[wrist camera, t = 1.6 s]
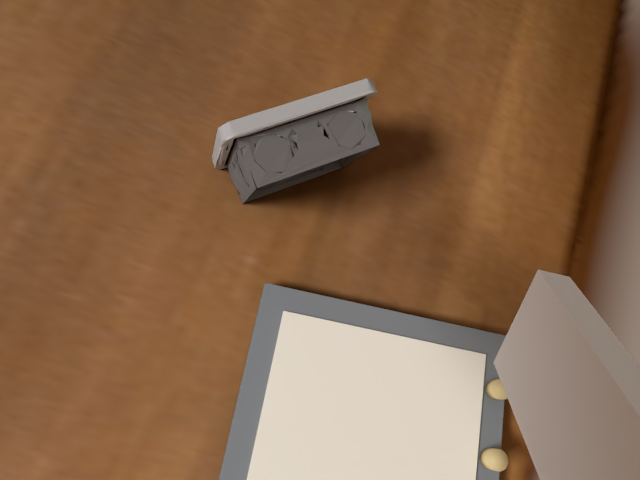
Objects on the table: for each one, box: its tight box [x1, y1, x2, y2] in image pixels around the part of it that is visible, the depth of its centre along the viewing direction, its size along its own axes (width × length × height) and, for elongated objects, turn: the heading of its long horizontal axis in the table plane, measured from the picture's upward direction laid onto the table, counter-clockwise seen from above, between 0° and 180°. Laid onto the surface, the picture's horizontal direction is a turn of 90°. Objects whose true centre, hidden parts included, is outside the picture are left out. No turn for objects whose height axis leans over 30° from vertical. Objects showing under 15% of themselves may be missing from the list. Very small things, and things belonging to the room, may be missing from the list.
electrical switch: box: [212, 78, 380, 204], centre depth 32 cm, size 9×5×9 cm, turn 114°
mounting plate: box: [219, 283, 508, 480], centre depth 31 cm, size 15×16×3 cm
